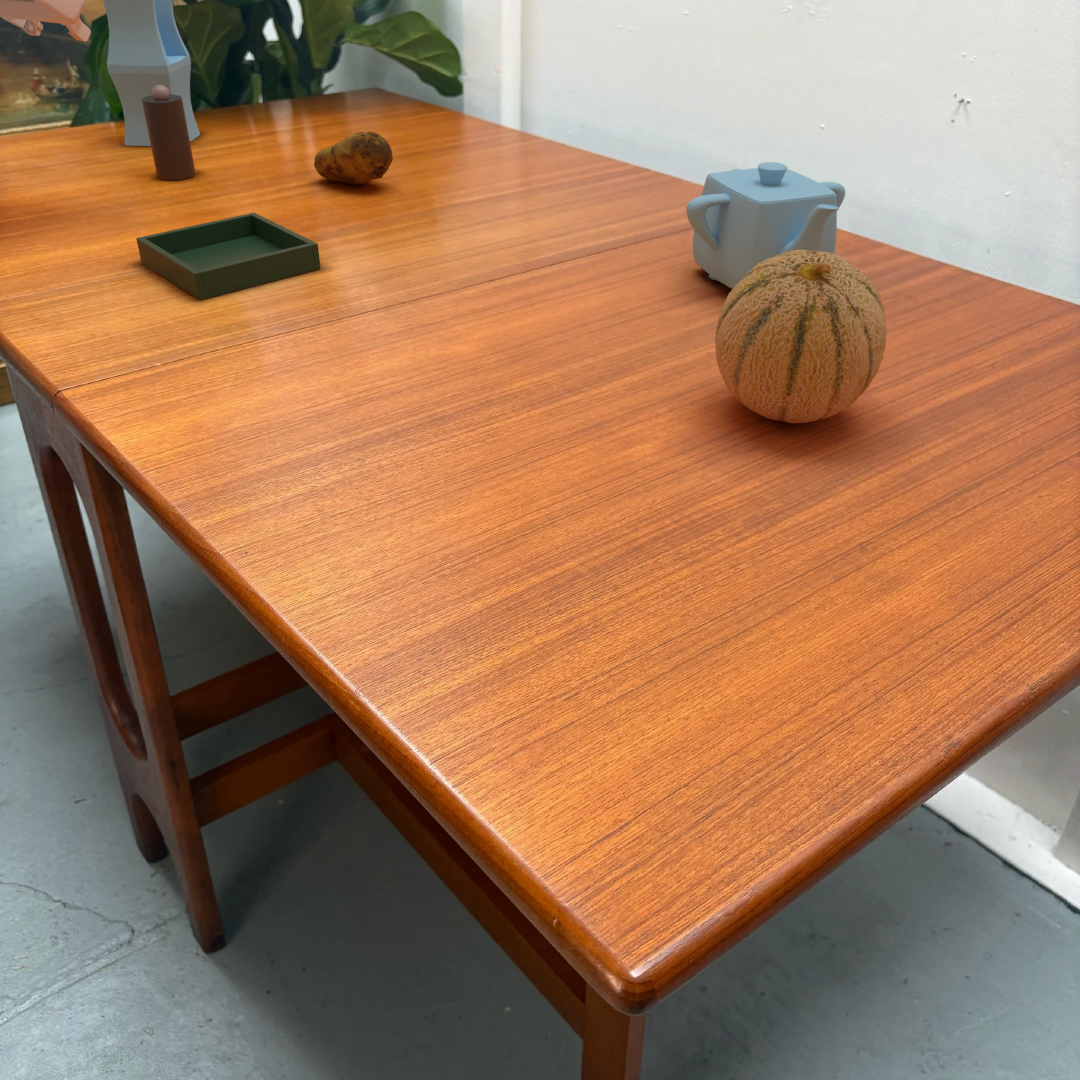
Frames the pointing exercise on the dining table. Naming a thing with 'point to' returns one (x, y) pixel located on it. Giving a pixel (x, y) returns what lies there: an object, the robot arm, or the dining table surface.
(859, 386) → the cantaloupe
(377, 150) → the potato
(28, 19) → the robot arm
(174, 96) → the pepper mill
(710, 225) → the teapot
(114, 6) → the vase
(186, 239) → the tray
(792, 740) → the dining table surface
